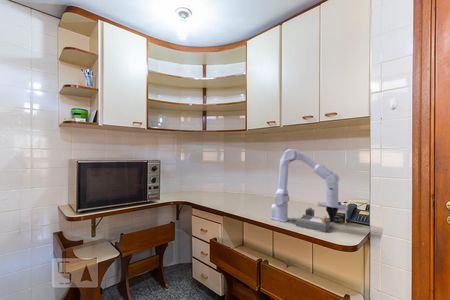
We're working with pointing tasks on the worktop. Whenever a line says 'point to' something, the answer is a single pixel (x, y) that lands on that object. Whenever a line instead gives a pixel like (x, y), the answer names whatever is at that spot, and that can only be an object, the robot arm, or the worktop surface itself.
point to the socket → (313, 223)
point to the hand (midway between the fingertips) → (332, 221)
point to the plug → (310, 212)
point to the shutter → (319, 219)
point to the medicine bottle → (340, 216)
